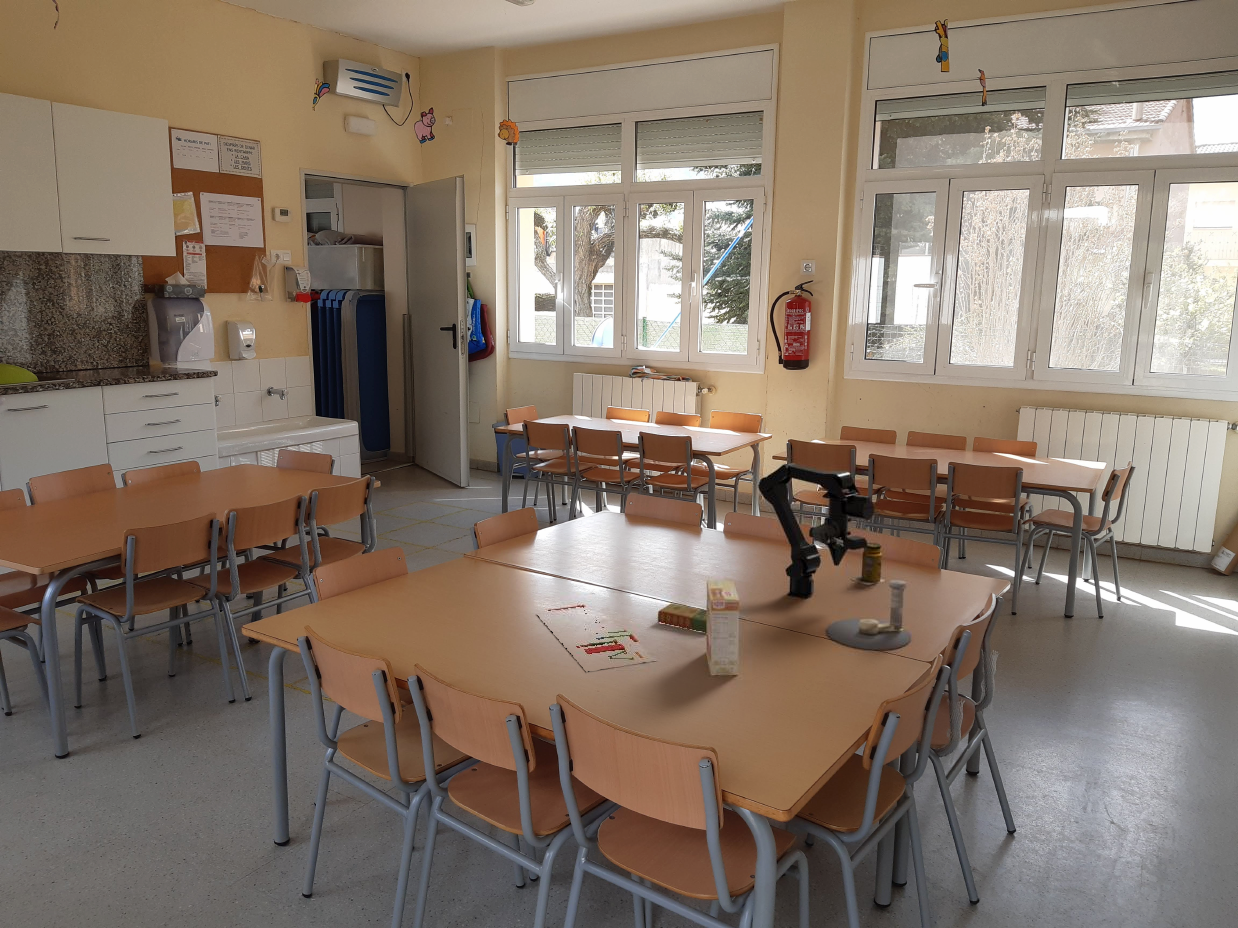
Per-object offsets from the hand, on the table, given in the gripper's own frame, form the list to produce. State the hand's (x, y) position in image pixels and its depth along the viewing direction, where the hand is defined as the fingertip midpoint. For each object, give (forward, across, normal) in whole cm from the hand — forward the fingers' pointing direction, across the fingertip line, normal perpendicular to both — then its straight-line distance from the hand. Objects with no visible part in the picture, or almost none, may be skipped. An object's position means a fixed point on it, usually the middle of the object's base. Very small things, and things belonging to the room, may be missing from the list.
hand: (836, 565), depth 265 cm
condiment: (+12, -12, +26) cm, 31 cm away
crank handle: (+11, +25, -6) cm, 28 cm away
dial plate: (+12, +23, -10) cm, 28 cm away
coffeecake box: (+12, +19, -56) cm, 60 cm away
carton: (+13, -8, -47) cm, 49 cm away
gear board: (+13, -15, -75) cm, 77 cm away
